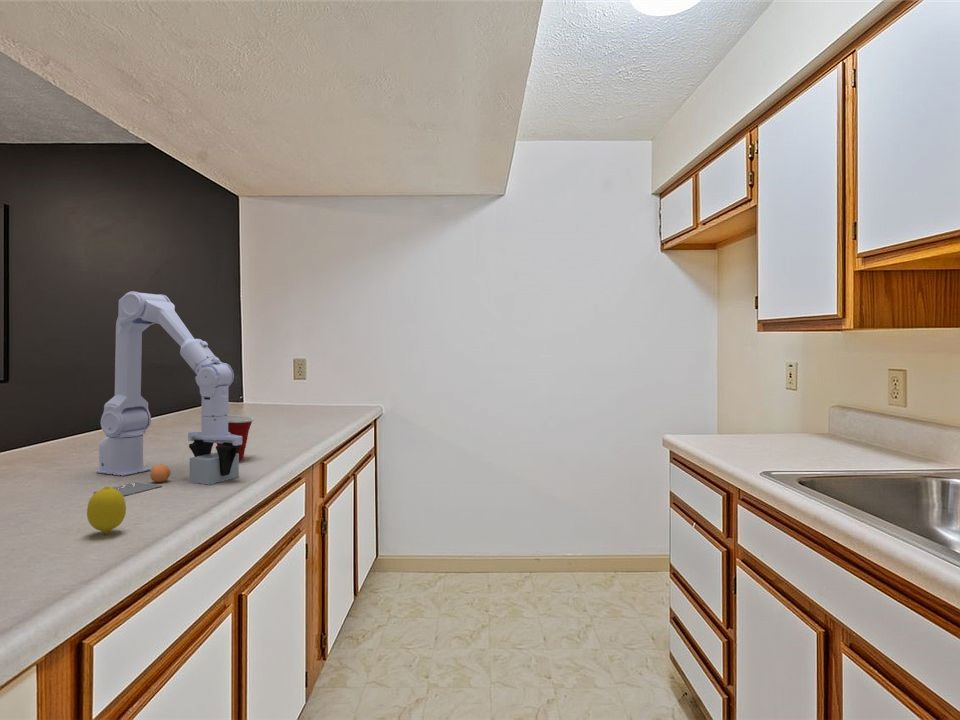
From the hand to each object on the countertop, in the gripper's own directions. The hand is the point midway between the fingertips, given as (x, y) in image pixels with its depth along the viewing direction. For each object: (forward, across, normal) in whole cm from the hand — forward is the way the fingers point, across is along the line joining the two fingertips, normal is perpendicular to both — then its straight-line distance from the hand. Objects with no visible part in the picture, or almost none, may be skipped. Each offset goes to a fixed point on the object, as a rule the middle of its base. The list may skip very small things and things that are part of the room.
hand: (214, 473), depth 140 cm
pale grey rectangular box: (+1, 0, 0) cm, 1 cm away
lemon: (+2, -14, +37) cm, 40 cm away
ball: (-1, +9, +7) cm, 11 cm away
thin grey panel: (+1, +9, +15) cm, 18 cm away
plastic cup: (+2, +13, -19) cm, 23 cm away
